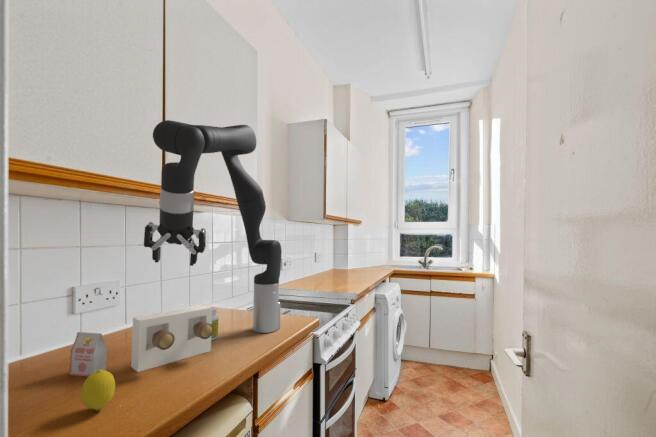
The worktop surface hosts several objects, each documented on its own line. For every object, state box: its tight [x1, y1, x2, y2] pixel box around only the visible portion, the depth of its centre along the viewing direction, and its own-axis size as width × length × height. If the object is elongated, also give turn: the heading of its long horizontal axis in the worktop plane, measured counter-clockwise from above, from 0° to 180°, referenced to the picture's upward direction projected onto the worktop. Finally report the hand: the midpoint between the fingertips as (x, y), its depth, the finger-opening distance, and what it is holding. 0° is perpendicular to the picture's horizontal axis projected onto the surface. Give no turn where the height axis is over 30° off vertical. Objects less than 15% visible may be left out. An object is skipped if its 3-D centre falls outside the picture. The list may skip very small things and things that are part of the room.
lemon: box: [80, 369, 116, 412], centre depth 64 cm, size 6×6×8 cm
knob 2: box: [193, 321, 214, 339], centre depth 91 cm, size 4×6×4 cm
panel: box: [130, 304, 213, 373], centre depth 90 cm, size 20×5×13 cm, turn 139°
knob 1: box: [152, 330, 175, 350], centre depth 83 cm, size 4×6×4 cm
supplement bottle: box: [211, 307, 219, 341], centre depth 107 cm, size 5×5×10 cm
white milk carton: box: [69, 331, 108, 378], centre depth 80 cm, size 4×7×10 cm, turn 81°
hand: (174, 262), depth 83 cm, fingers open, 8 cm apart
